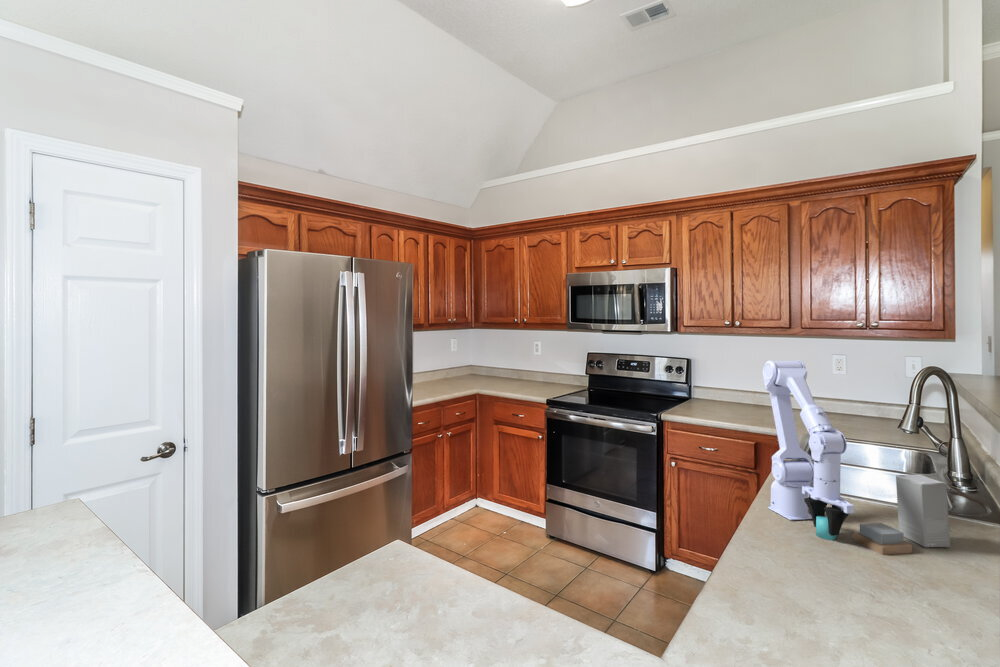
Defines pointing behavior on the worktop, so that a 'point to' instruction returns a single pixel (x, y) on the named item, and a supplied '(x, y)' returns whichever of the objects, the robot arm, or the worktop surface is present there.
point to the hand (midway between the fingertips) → (826, 530)
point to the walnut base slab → (883, 549)
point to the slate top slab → (881, 533)
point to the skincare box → (923, 510)
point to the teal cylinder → (823, 528)
